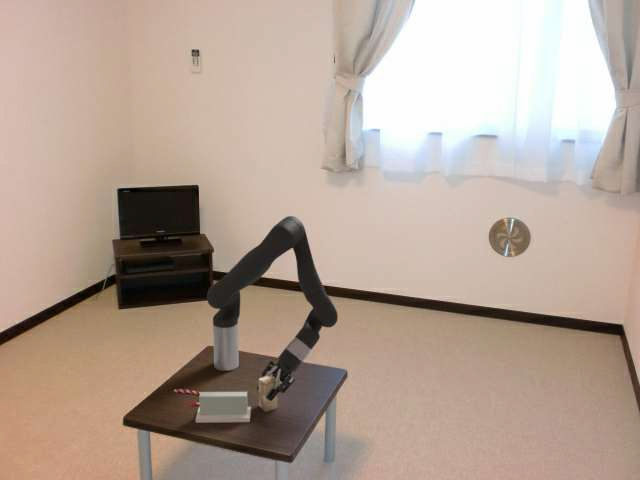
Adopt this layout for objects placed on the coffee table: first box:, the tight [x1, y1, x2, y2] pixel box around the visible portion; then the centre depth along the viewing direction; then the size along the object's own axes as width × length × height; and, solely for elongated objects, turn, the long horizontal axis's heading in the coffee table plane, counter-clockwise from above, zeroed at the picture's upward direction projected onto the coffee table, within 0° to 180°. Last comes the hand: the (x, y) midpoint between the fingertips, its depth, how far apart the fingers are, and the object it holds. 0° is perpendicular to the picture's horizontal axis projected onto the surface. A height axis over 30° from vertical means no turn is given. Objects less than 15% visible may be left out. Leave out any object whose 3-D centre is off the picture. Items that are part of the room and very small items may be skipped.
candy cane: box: [173, 388, 201, 407], centre depth 214 cm, size 8×1×15 cm
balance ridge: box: [195, 391, 252, 424], centre depth 201 cm, size 7×17×8 cm, turn 92°
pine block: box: [258, 375, 278, 412], centre depth 207 cm, size 4×4×10 cm
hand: (263, 394), depth 207 cm, fingers open, 6 cm apart
